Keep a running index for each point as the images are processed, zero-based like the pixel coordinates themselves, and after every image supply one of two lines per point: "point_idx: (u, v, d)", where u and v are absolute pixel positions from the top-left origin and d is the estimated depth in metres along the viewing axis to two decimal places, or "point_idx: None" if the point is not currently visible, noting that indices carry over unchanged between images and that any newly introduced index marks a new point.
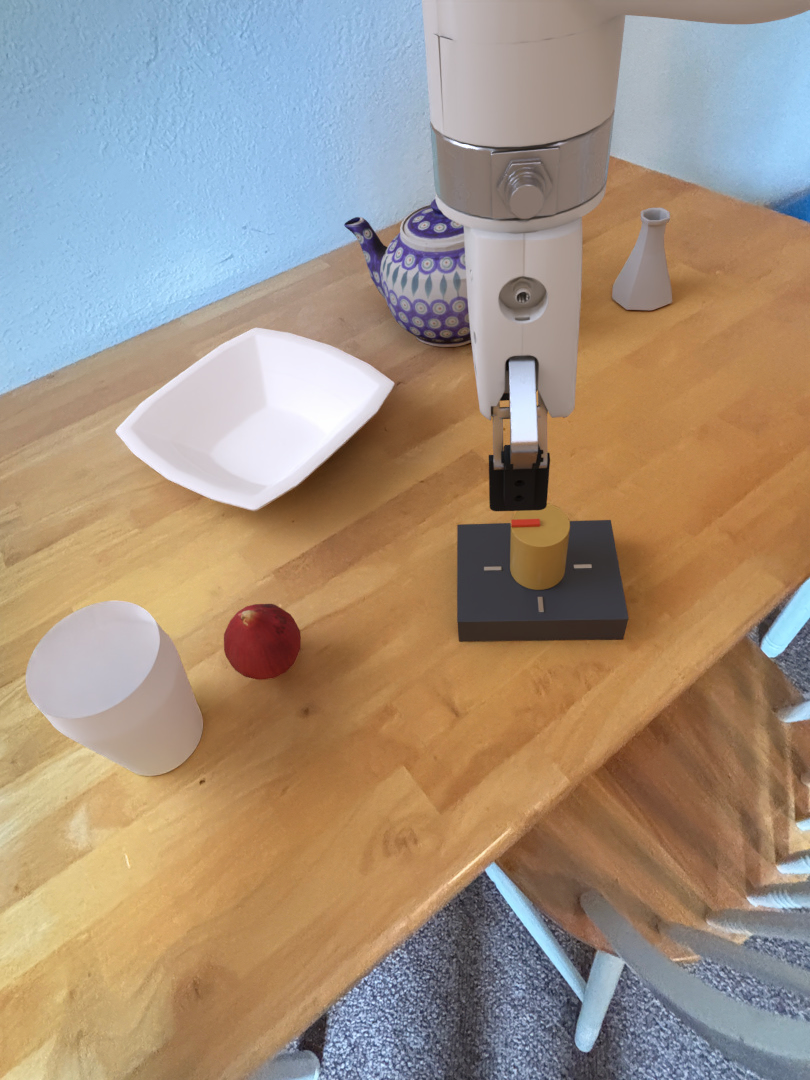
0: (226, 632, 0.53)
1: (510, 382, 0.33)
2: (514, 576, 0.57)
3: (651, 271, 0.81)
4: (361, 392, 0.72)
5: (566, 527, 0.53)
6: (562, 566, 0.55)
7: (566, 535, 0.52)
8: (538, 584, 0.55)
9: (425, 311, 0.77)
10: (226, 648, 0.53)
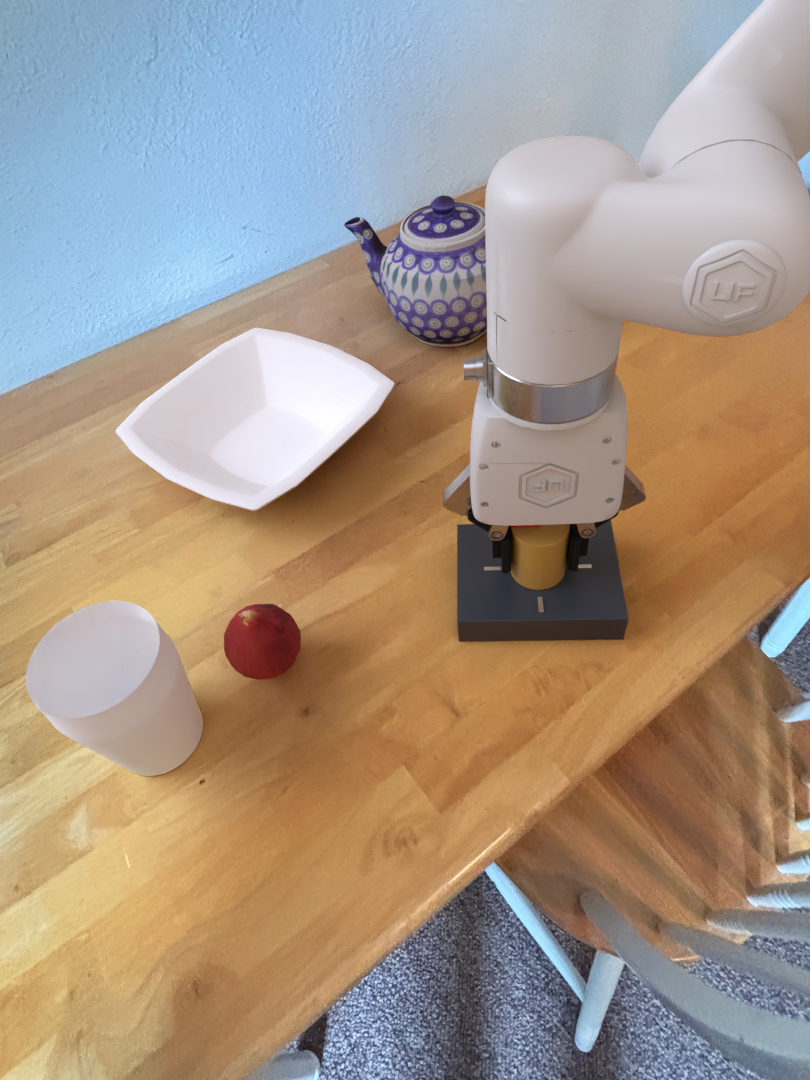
0: (226, 632, 0.53)
1: (466, 468, 0.50)
2: (514, 576, 0.57)
3: None
4: (361, 392, 0.72)
5: (566, 527, 0.53)
6: (562, 566, 0.55)
7: (566, 535, 0.52)
8: (538, 584, 0.55)
9: (425, 311, 0.77)
10: (226, 648, 0.53)
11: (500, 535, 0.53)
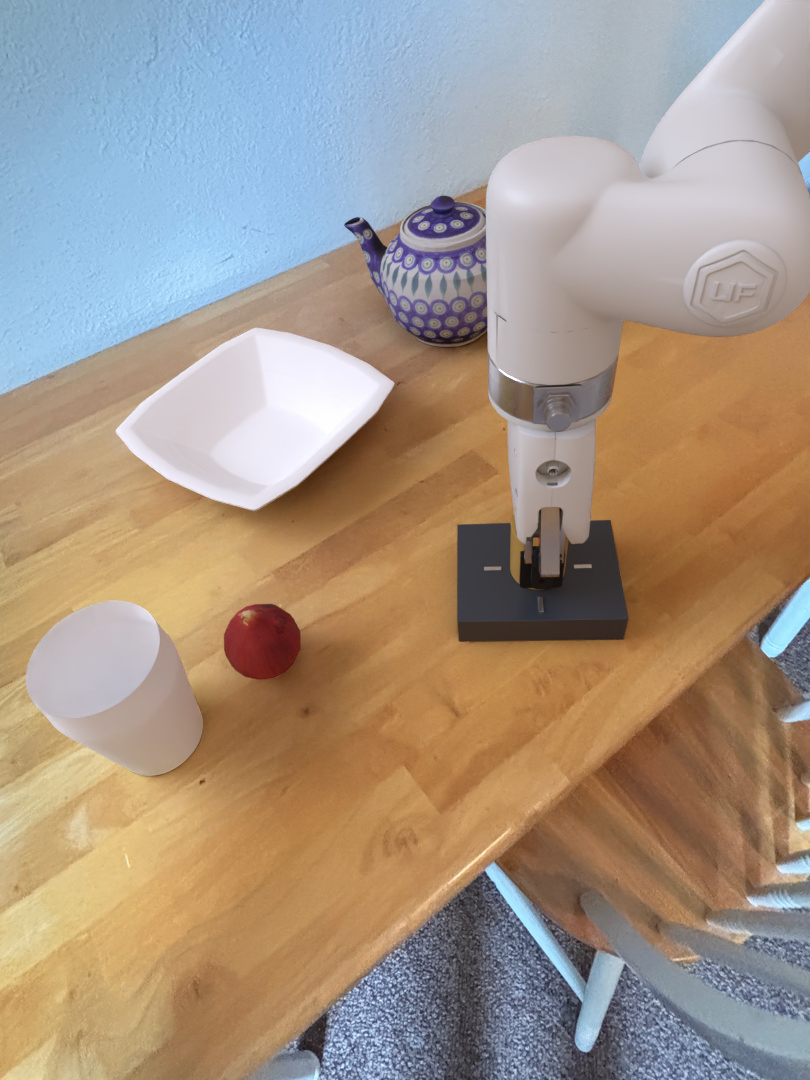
0: (226, 632, 0.53)
1: (541, 529, 0.46)
2: None
3: None
4: (361, 392, 0.72)
5: None
6: None
7: None
8: None
9: (425, 311, 0.77)
10: (226, 648, 0.53)
11: None
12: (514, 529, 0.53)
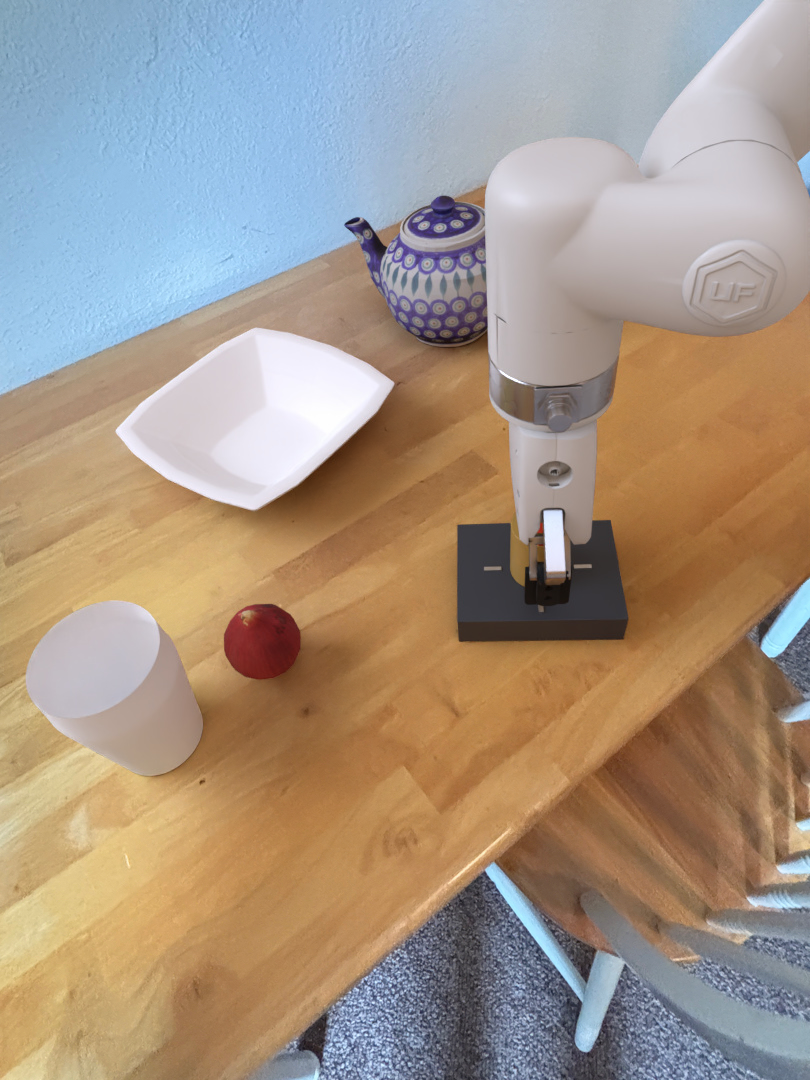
0: (226, 632, 0.53)
1: (544, 526, 0.45)
2: None
3: None
4: (361, 392, 0.72)
5: None
6: None
7: None
8: None
9: (425, 311, 0.77)
10: (226, 648, 0.53)
11: None
12: (514, 529, 0.53)
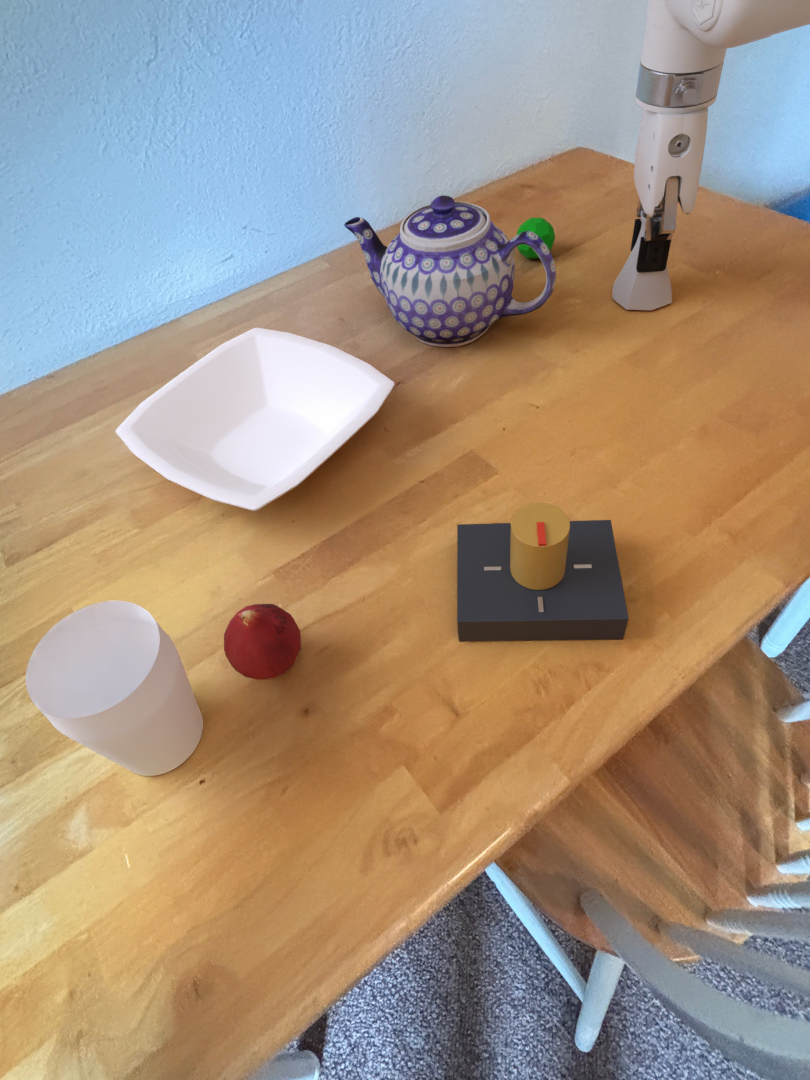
0: (226, 632, 0.53)
1: (665, 197, 0.71)
2: (553, 583, 0.56)
3: None
4: (361, 392, 0.72)
5: (544, 505, 0.54)
6: None
7: (553, 506, 0.54)
8: None
9: (425, 311, 0.77)
10: (226, 648, 0.53)
11: None
12: (514, 529, 0.53)
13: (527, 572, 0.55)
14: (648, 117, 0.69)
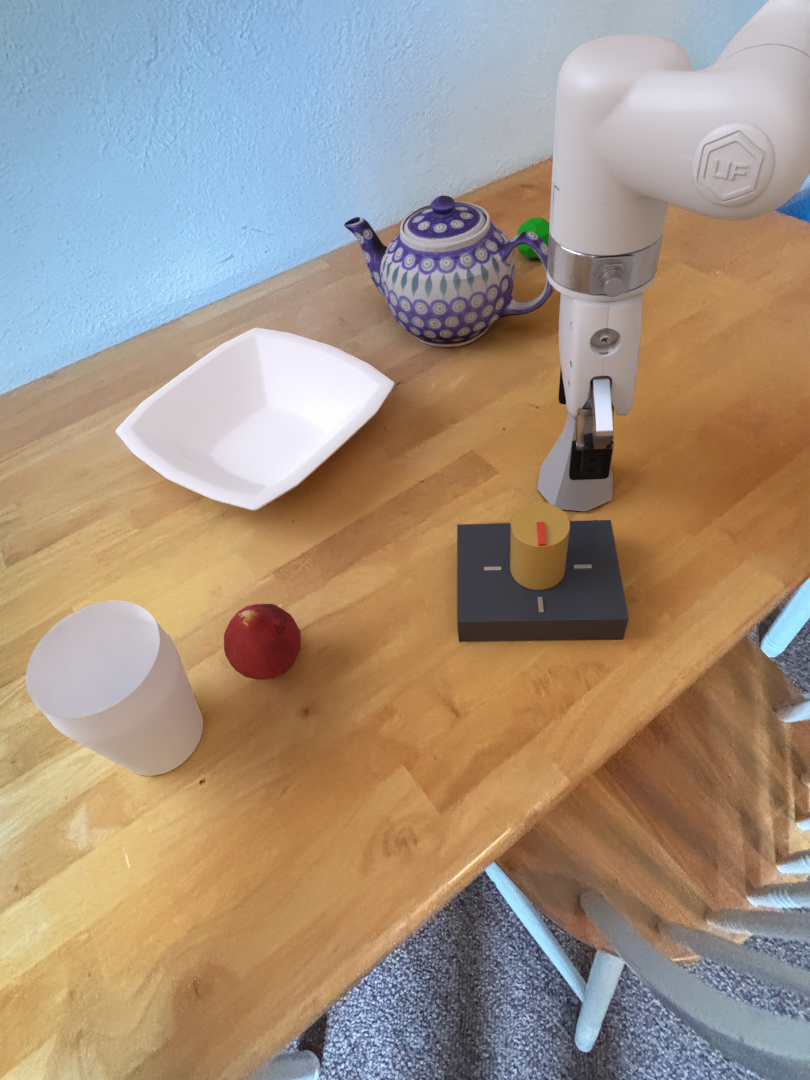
0: (226, 632, 0.53)
1: (594, 393, 0.51)
2: (553, 583, 0.56)
3: None
4: (361, 392, 0.72)
5: (544, 505, 0.54)
6: None
7: (553, 506, 0.54)
8: None
9: (425, 311, 0.77)
10: (226, 648, 0.53)
11: None
12: (514, 529, 0.53)
13: (527, 572, 0.55)
14: (565, 296, 0.51)
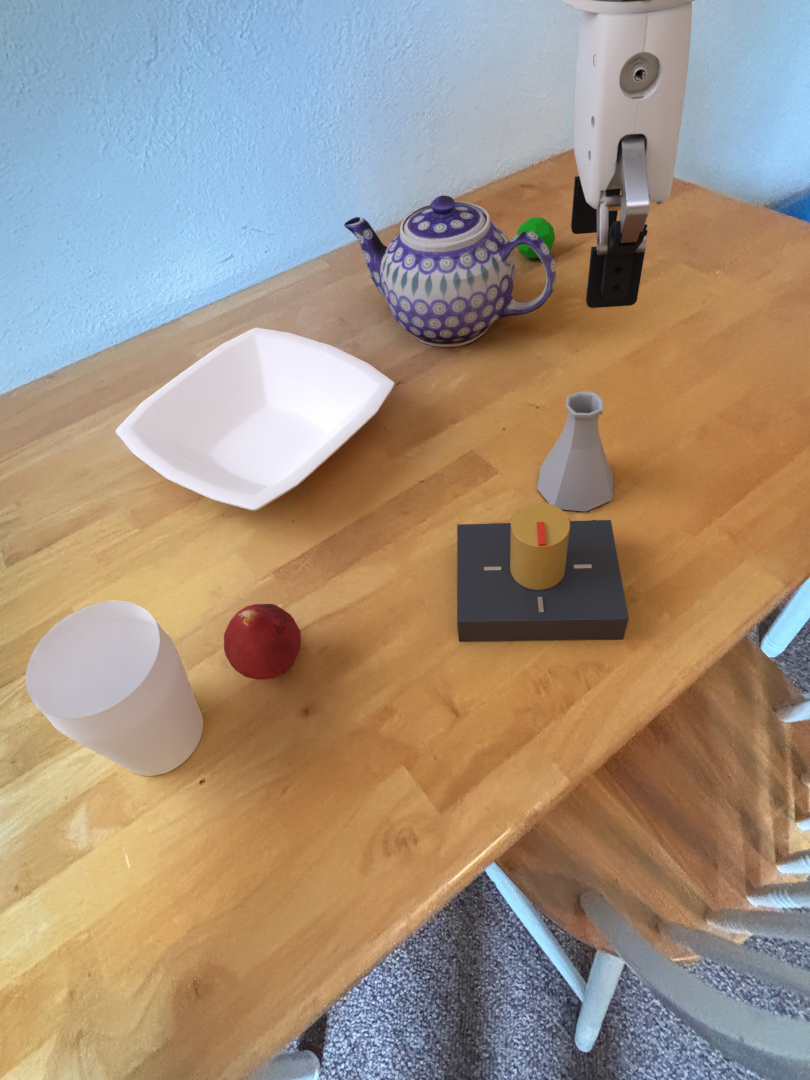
0: (226, 632, 0.53)
1: (623, 157, 0.39)
2: (553, 583, 0.56)
3: (582, 467, 0.62)
4: (361, 392, 0.72)
5: (544, 505, 0.54)
6: None
7: (553, 506, 0.54)
8: None
9: (425, 311, 0.77)
10: (226, 648, 0.53)
11: None
12: (514, 529, 0.53)
13: (527, 572, 0.55)
14: (585, 27, 0.38)
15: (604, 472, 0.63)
